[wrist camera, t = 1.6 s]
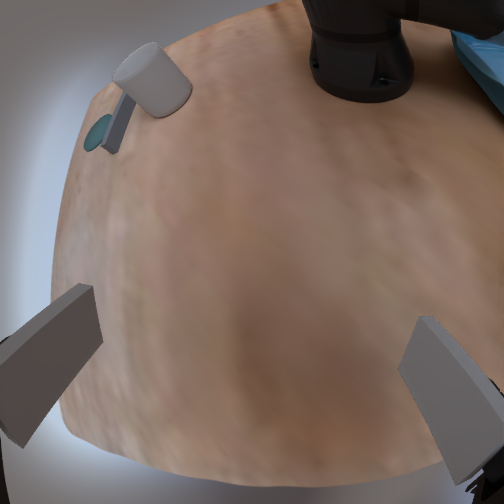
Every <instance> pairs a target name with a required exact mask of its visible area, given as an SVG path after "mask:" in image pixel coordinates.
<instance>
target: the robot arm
mask: <svg viewBox="0 0 504 504" xmlns="http://www.w3.org/2000/svg"><path fill="white" fill-rule="evenodd" d="M302 3H303V5H304V8H305V11H306V13H307V16H308V19H309V22H310V25H311V28H312V40H311V49H310V59H309V60H310V67H311V70H312V73H313V76H314V79H315V80H316V82H317V83H318V84H319V85H320V86H321V87H322V88H323V89H324V90H326V91H327V92H329V93H331V94H333V95H335V96H338V97H341V98H344V99H347V100H352V101H358V102H382V101H387V100H391V99H394V98H397V97H399V96H401V95H403V94H404V93H405V92H407V91H408V90H409V88H410V87H411V85H412V83H413V75H414V65H413V61H412V58H411V55H410V52H409V50H408V47H407V45H406V42H405V40H404V37H403V35H402V32H401V19H403V20H410V21H415V22H420V23H425V24H429V25H434V26H438V27H442V28H446V29H449V30H453V31H456V32H460V33H463V34H466V35H469V36H472V37H473V38H475V39H477V40H480V41H487V42H490V43H493V44H496V45H499V46H502V47H504V0H302ZM102 343H103V338H102V333H101V329H100V324H99V319H98V314H97V308H96V302H95V296H94V290H93V286H91V285H86V284H81V283H78V284H77V285H76V286H74V287H73V288H71V289H70V290H69V291H67V292H66V293H65V294H63V295H62V296H61V297H59V298H58V299H57V300H55V301H54V302H53V303H51V304H50V305H49V306H47V307H46V308H45V309H43V310H42V311H41V312H40V313H38V314H37V315H36V316H35V317H33V318H32V319H31V320H30V321H28V322H27V323H26V324H25V325H23V326H22V327H21V328H20V329H19V330H17V331H16V332H15V333H14V334H12V335H11V336H9V337H6V338H5V339H4V340H2V341H1V342H0V428H1V429H2V431H3V432H4V433H5V434H6V436H7V437H8V438H9V439H10V440H12V441H13V442H14V443H15V444H17V445H18V446H20V447H21V448H24V447H25V445H26V444H27V442H28V441H29V439H30V438H31V436H32V435H33V433H34V432H35V431H36V429H37V428H38V426H39V425H40V423H41V422H42V421H43V419H44V418H45V417H46V415H47V414H48V412H49V411H50V409H51V408H52V407H53V405H54V404H55V403H56V401H57V400H58V399H59V397H60V396H61V395H62V393H63V392H64V391H65V389H66V388H67V387H68V386H69V384H70V383H71V382H72V380H73V379H74V378H75V377H76V375H77V374H78V373H79V371H80V370H81V369H82V368H83V366H84V365H85V364H86V363H87V361H88V360H89V359H90V358H91V356H92V355H93V354H94V353H95V351H96V350H97V349H98V348H99V347H100V345H101V344H102ZM398 370H399V372H400V374H401V376H402V378H403V379H404V381H405V383H406V385H407V387H408V388H409V390H410V392H411V394H412V396H413V398H414V400H415V401H416V403H417V405H418V407H419V409H420V411H421V413H422V415H423V417H424V419H425V421H426V423H427V425H428V427H429V429H430V431H431V433H432V435H433V437H434V439H435V441H436V443H437V445H438V447H439V449H440V452H441V454H442V456H443V458H444V460H445V463H446V465H447V467H448V469H449V471H450V474H451V476H452V479H453V481H454V484H455V486H456V485H459V484H461V483H463V482H465V481H467V480H469V479H471V478H472V477H473V476H474V475H475V474H476V473H477V472H479V471H480V469H483V471H484V473H482V474H481V475H480V476H479V477H478V478H477V479H476V480H474V481H473V482H472V483H471V484H470V485H469V486H468V487H467V489H466V490H465V492H468V491H469V490H470V489H472V488H473V487H474V486H475V485H477V486H476V487H475V488H474V489H473V490H472V491H471V492H470V493H473V494H475V495H474V499H473V502H472V504H504V394H503V393H502V392H500V389H499V388H498V387H497V386H496V384H495V383H494V382H493V381H492V380H491V379H489V378H488V377H487V376H486V375H485V374H484V373H483V371H482V370H481V369H480V368H479V367H478V365H477V364H476V363H475V362H474V361H473V360H472V358H471V357H470V356H469V355H468V354H467V353H466V352H465V350H464V349H463V348H462V347H461V346H460V345H459V344H458V343H457V342H456V340H455V339H454V338H453V337H452V336H451V335H450V334H449V333H448V332H447V331H446V330H445V329H444V327H443V326H442V325H441V324H440V323H439V322H438V321H437V320H436V319H435V318H434V317H433V316H419V317H418V320H417V323H416V326H415V328H414V331H413V333H412V336H411V339H410V341H409V344H408V346H407V348H406V351H405V353H404V355H403V358H402V360H401V362H400V364H399V367H398ZM0 504H10V502H9V497H8V492H7V487H6V482H5V476H4V470H3V460H2V451H1V438H0Z"/></svg>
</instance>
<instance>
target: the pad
mask: <svg viewBox="0 0 504 504" xmlns="http://www.w3.org/2000/svg"><path fill="white" fill-rule="evenodd" d="M111 118H112V115H110V114H107V115H104V116H103V117H101V118H100V119H99V120H98V121H97V122H96V123H95V124H94V125H93V127H92V128H91V129H90V131H89V133H88V134H87V136H86V139H85V142H84V149H85V150H86V151H91V150H93V149H94V148H96V147H97V146H98V145H99V144H100V143H101V142H102V140H103V137H104V135H105V132H106V130H107V127H108V125H109V122H110V120H111Z"/></svg>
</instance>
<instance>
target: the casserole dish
mask: <svg viewBox="0 0 504 504" xmlns="http://www.w3.org/2000/svg"><path fill="white" fill-rule="evenodd" d="M450 32H451V36H452V41H453V45H454V49H455V52H456V55H457V57H458V59H459V60H460V62H461V63H462V65H463V66H464V67H465V69H466V70H467V71H468V72H469V73H470V75H471V76H472V77H473V78H474V79H475V81H476V82H477V83H478V84H479V86H480V87H481V88H482V89H483V90H484V92H485V93H486V94H487V96H488V97H489V98H490V100H491V101H492V102H493V104H494V105H495V106H496V107H497V108H498V110H499V111H500V112H501V113H502V114H503V115H504V47H502V46H499V45H496V44H493V43H490V42H487V41H480V40H477V39H475V38H473V37H472V36H469V35H466V34H463V33H460V32H456V31H453V30H450Z"/></svg>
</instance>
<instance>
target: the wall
mask: <svg viewBox="0 0 504 504" xmlns="http://www.w3.org/2000/svg"><path fill="white" fill-rule="evenodd" d="M135 104H136V101H134V100H133V99H132V98H131V97H130V96H129V95H128V94H127V93H125V92H124V91H123V93H122V95H121V98H120V100H119V102H118V104H117V106H116V109H115V111H114V113H113V115H112V118H111V120H110V122H109V125H108V127H107V130H106V132H105V135H104V137H103V140H102V143H101V145H100V146H101V147H102V148H104V149H105V150H107V151H108V152H110V153H112V154H114V153H117V152H118V150H119V147H120V144H121V141H122V138H123V135H124V132H125V130H126V127H127V124H128V122H129V119H130V117H131V114H132V112H133V109H134V107H135Z"/></svg>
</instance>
